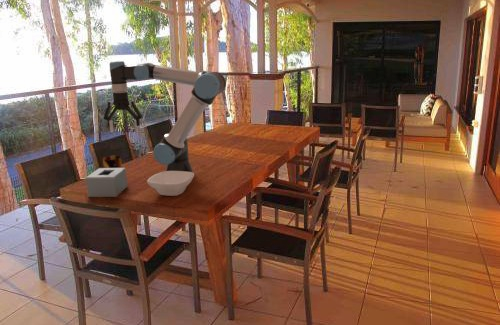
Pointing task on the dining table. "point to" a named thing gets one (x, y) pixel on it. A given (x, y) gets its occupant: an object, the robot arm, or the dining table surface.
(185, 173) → the bowl
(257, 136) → the dining table surface
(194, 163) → the dining table surface
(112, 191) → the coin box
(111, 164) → the mug
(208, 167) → the dining table surface
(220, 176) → the dining table surface
